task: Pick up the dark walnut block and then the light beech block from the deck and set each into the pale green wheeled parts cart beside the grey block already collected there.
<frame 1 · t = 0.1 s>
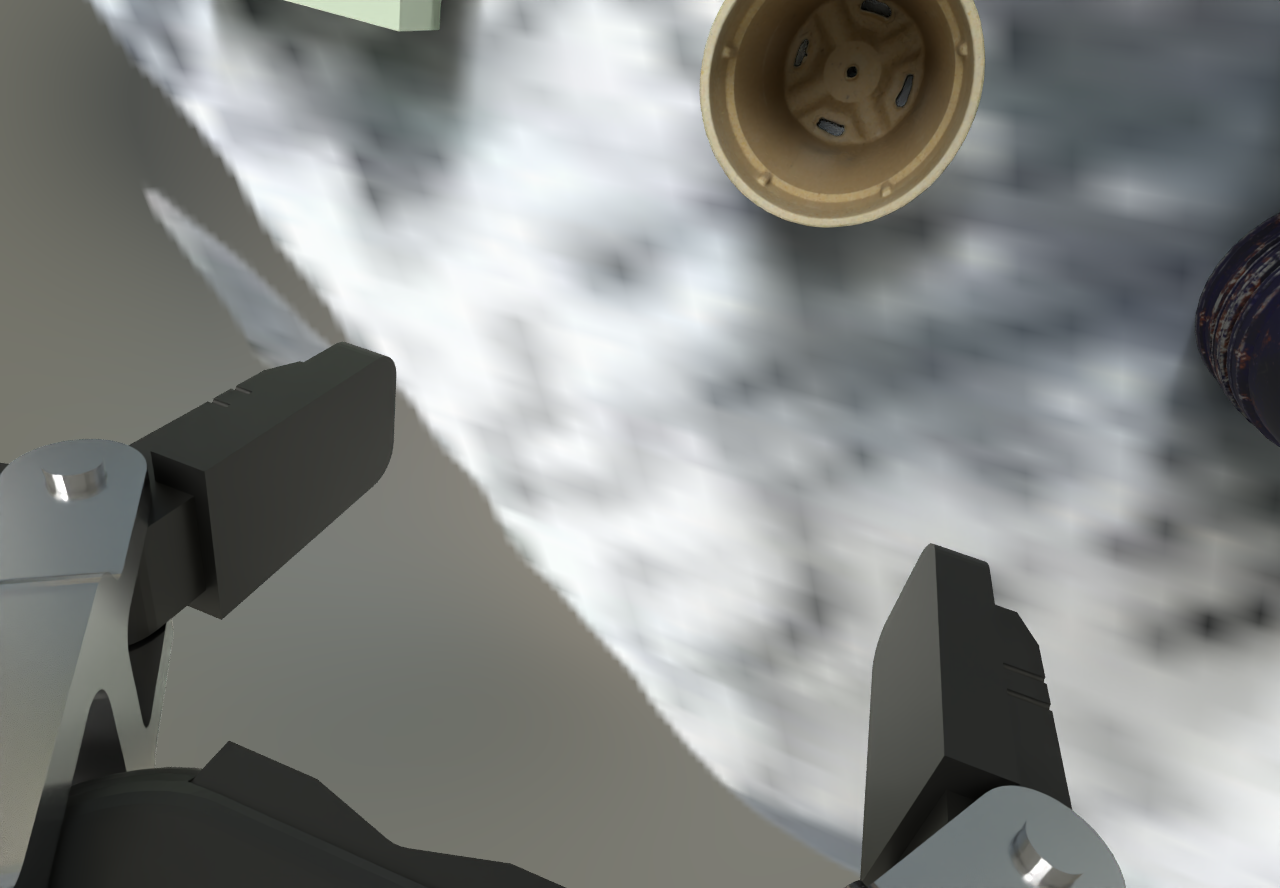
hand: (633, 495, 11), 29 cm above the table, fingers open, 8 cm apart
flower pot: (850, 71, 34), on the table
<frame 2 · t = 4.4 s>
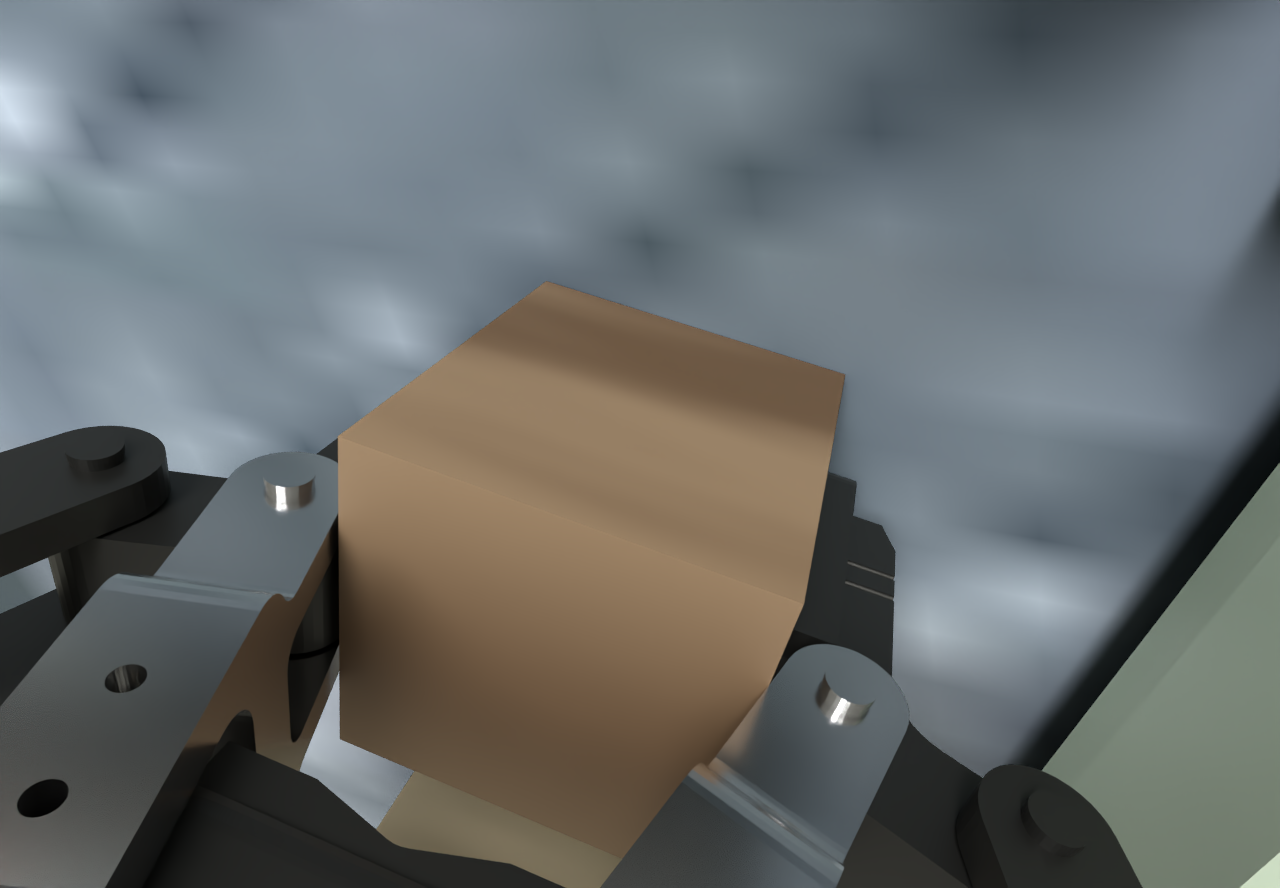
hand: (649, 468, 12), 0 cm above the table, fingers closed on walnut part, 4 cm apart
beech part: (577, 762, 17), on the table
walnut part: (658, 455, 12), on the table, touching gripper
when the fingers open (3 cm above the table, at t = 9.6 s): walnut part stays where it is, resting on cart.
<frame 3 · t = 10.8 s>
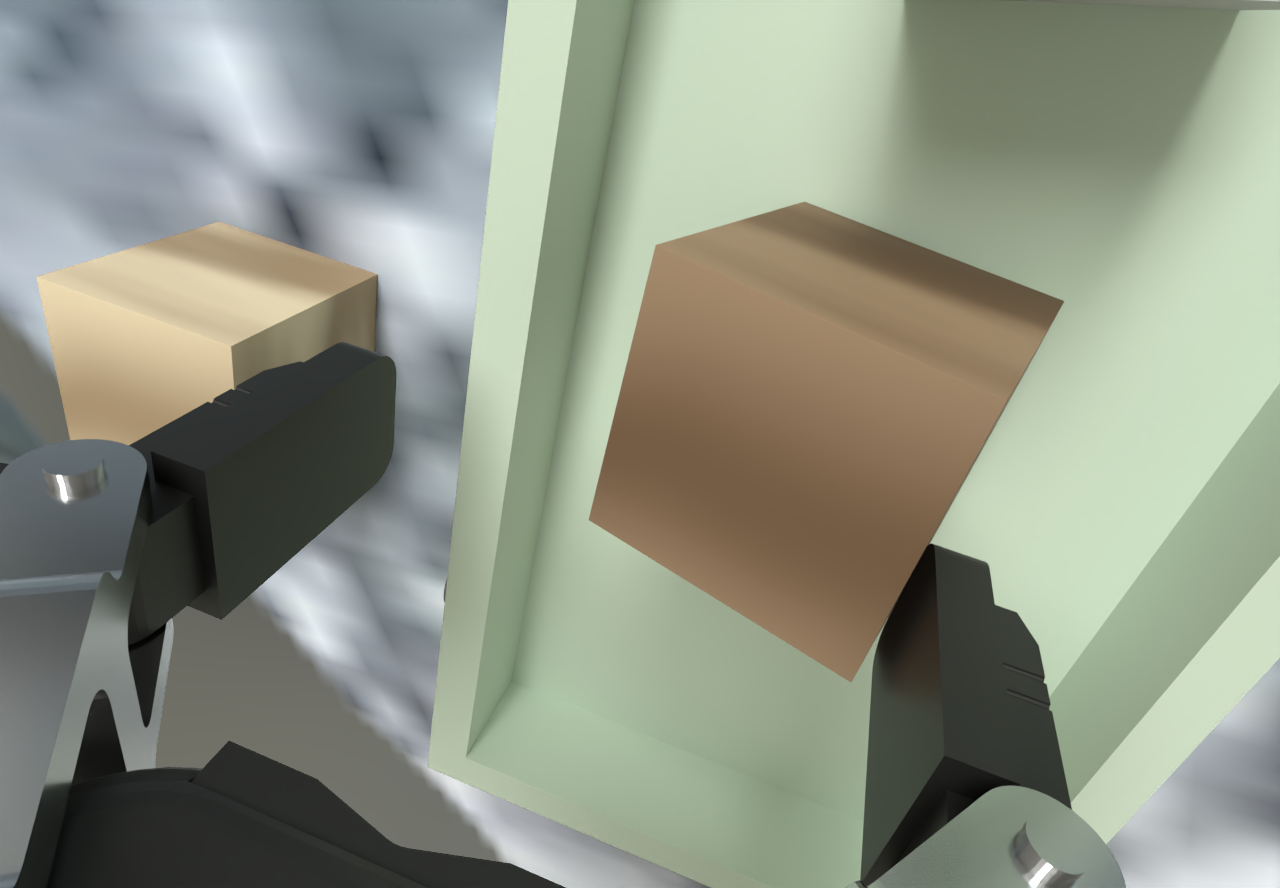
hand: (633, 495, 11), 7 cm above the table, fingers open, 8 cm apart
beech part: (300, 328, 21), on the table
cart: (891, 316, 16), on the table
walnut part: (874, 367, 14), point 2 cm above the table, tilted 16°, touching cart
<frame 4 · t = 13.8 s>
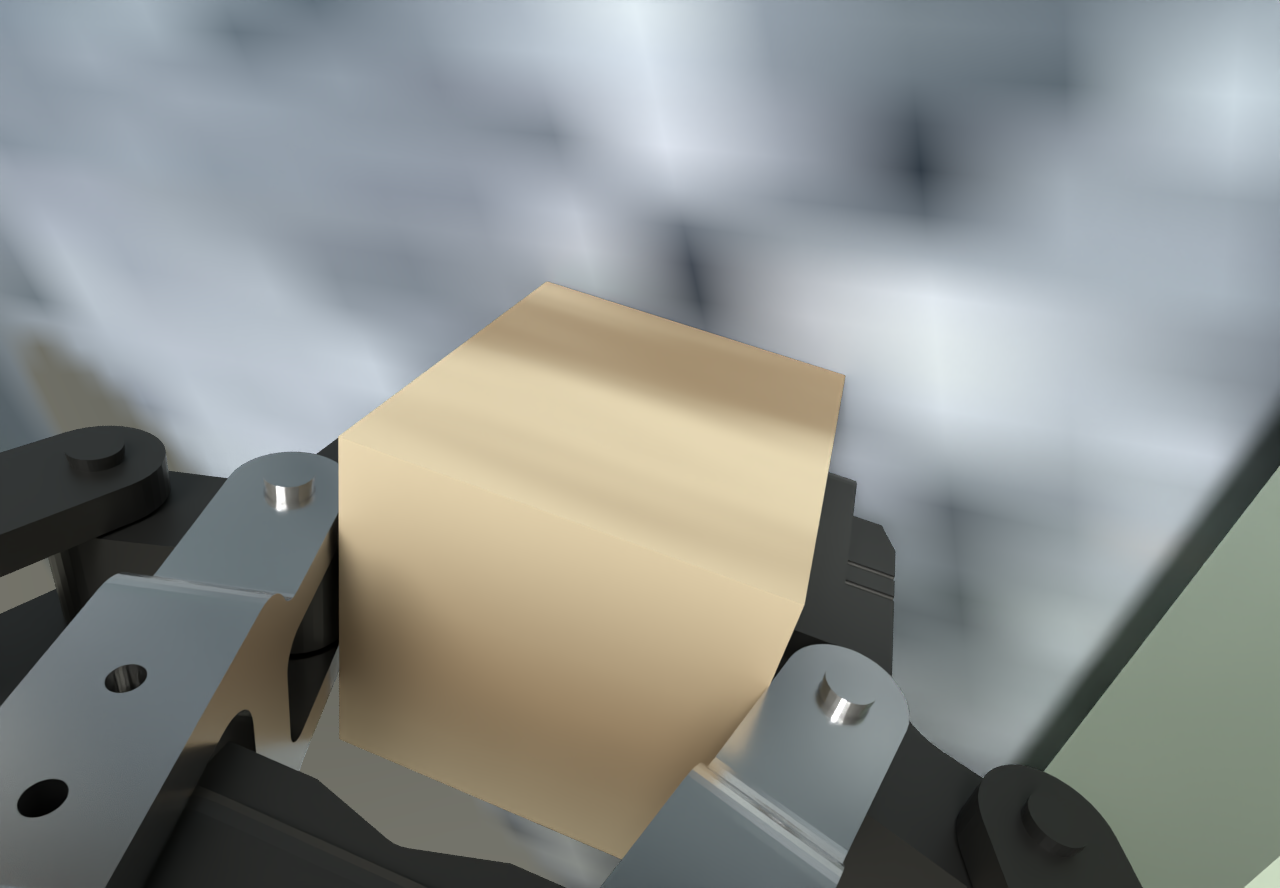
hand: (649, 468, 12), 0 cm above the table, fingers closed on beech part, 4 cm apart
beech part: (658, 456, 12), on the table, touching gripper
when the fingers open (3 cm above the table, at t = 18.9 s): beech part drops 1 cm, resting on cart.
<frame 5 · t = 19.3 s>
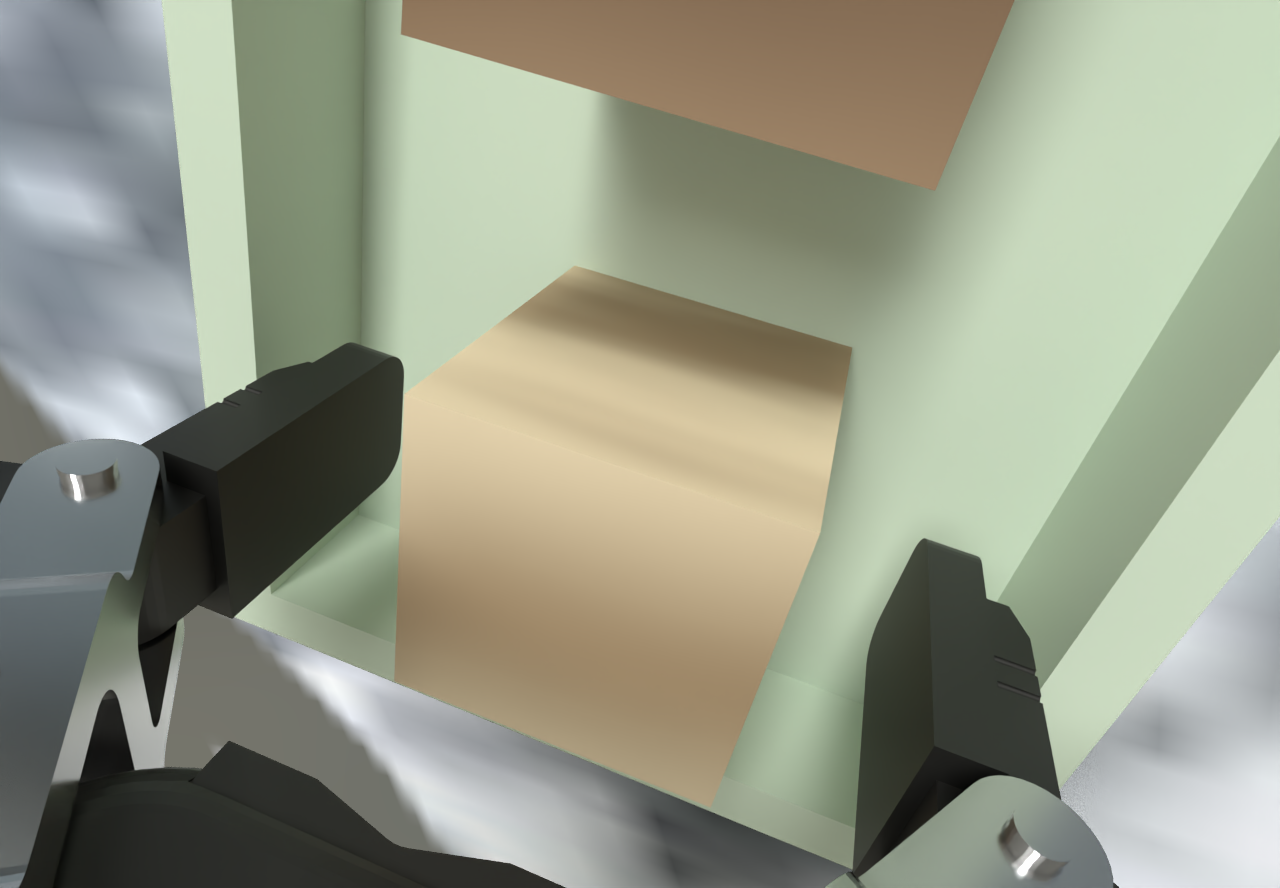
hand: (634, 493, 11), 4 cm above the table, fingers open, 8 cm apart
beech part: (678, 427, 13), point 2 cm above the table, touching cart
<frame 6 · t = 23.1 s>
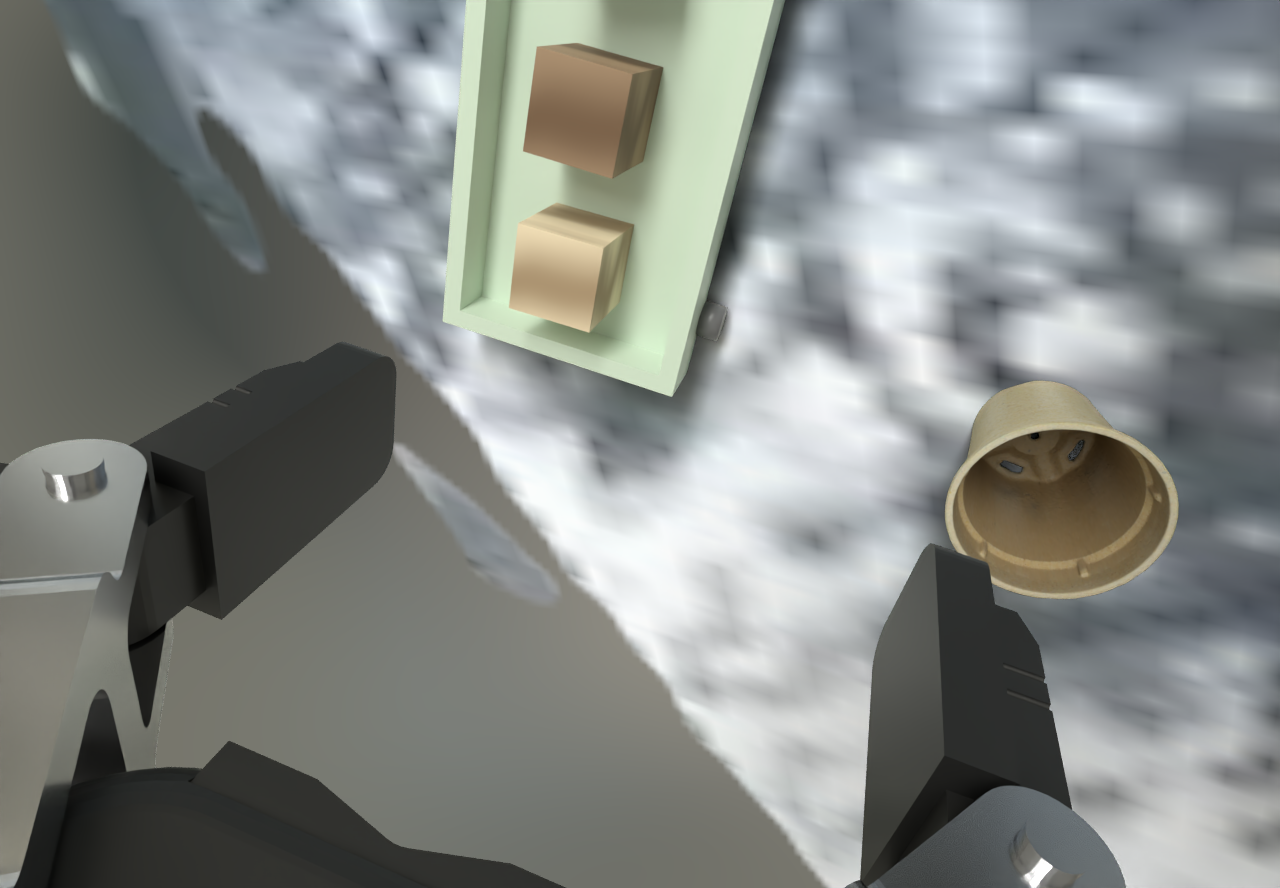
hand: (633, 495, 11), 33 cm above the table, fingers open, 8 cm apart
beech part: (588, 253, 43), point 2 cm above the table, touching cart
cart: (624, 96, 41), on the table
walnut part: (611, 103, 39), point 2 cm above the table, touching cart
flower pot: (1031, 429, 43), on the table
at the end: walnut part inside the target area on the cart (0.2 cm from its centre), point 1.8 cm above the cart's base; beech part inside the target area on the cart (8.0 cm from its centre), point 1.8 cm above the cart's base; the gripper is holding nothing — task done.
